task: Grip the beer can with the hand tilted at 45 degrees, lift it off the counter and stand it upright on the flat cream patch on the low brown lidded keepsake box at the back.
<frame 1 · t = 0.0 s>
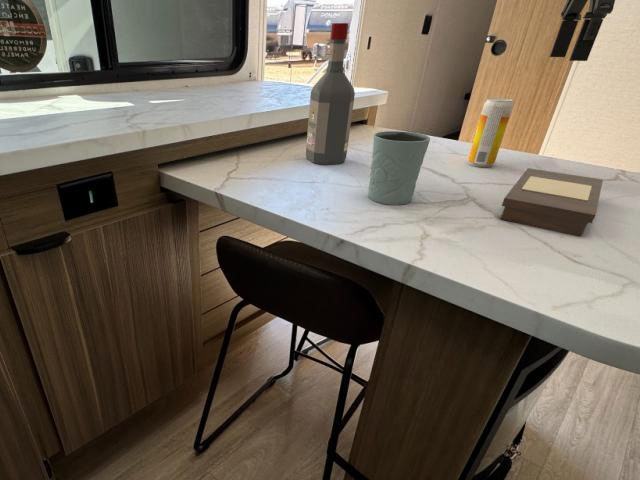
hand: (566, 59, 84), 24 cm above the table, tool pointing down, fingers open, 13 cm apart
brown lidded keepsake box: (548, 208, 79), on the table
beer can: (479, 165, 105), on the table
liquor: (325, 160, 109), on the table
green embossed cup: (389, 198, 85), on the table
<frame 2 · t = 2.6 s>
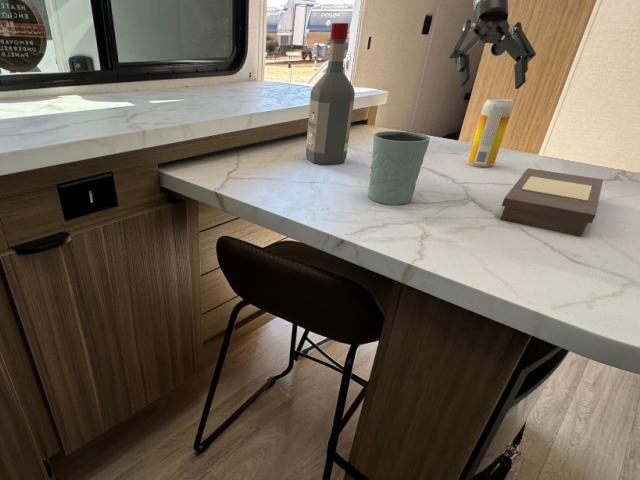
hand: (492, 83, 102), 18 cm above the table, tool tilted 40°, fingers open, 13 cm apart
nothing on the table moved.
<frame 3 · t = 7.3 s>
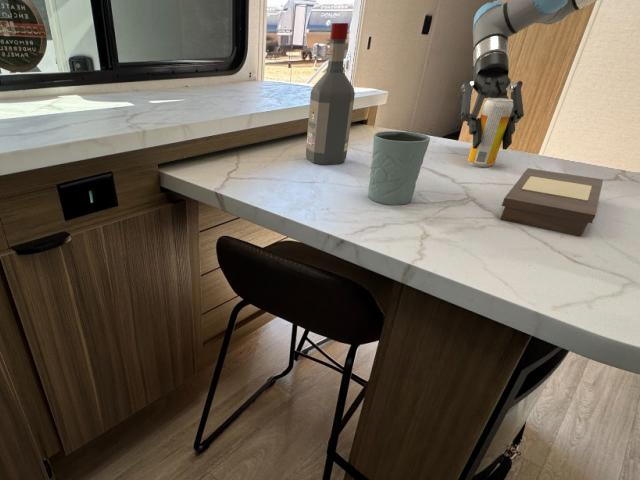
hand: (492, 145, 99), 5 cm above the table, tool tilted 45°, fingers closed on beer can, 6 cm apart
beer can: (479, 165, 105), on the table, touching gripper
everything else where it was.
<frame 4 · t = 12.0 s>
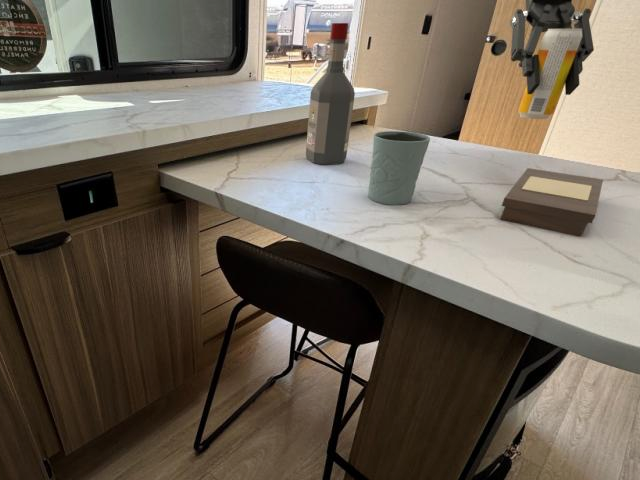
hand: (552, 89, 78), 19 cm above the table, tool tilted 45°, fingers closed on beer can, 6 cm apart
beer can: (533, 117, 84), point 14 cm above the table, touching gripper
everything else where it was.
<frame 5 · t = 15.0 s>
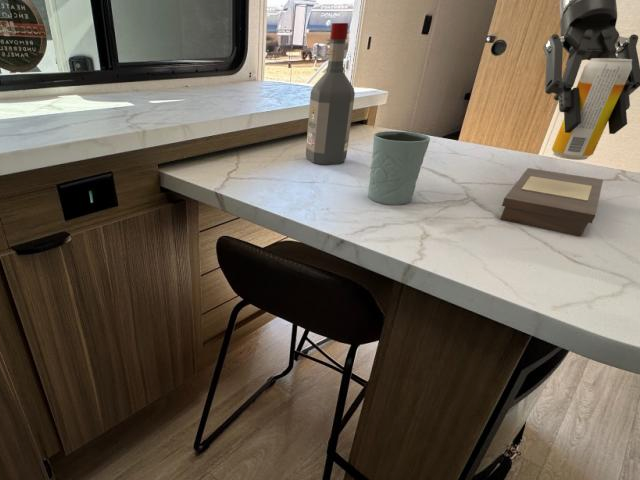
hand: (595, 128, 68), 15 cm above the table, tool tilted 45°, fingers closed on beer can, 6 cm apart
beer can: (569, 157, 74), point 10 cm above the table, touching gripper
everything else where it was.
when the fingers open (10 cm above the table, at t = 16.9 s): beer can stays where it is, resting on brown lidded keepsake box.
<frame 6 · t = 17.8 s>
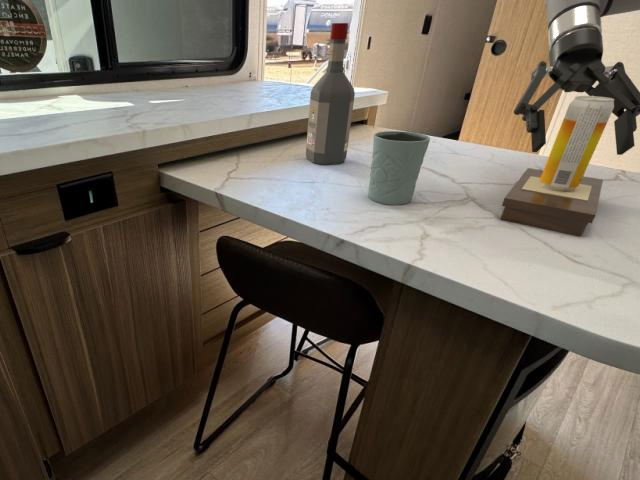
hand: (581, 149, 71), 11 cm above the table, tool tilted 45°, fingers open, 13 cm apart
beer can: (556, 188, 77), point 4 cm above the table, touching brown lidded keepsake box
everything else where it was.
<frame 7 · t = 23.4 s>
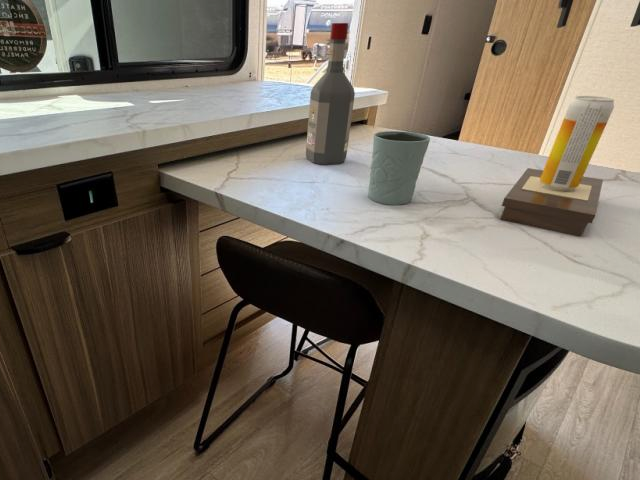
hand: (597, 26, 88), 29 cm above the table, tool pointing down, fingers open, 13 cm apart
nothing on the table moved.
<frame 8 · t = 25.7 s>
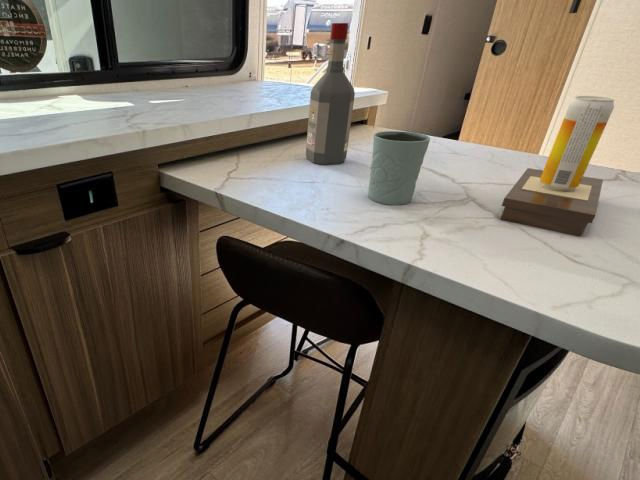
hand: (609, 12, 89), 32 cm above the table, tool pointing down, fingers open, 13 cm apart
nothing on the table moved.
at the end: beer can inside the target area on the brown lidded keepsake box (0.0 cm from its centre), point 4.0 cm above the brown lidded keepsake box's base; beer can tilted 0°; the gripper is holding nothing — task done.
